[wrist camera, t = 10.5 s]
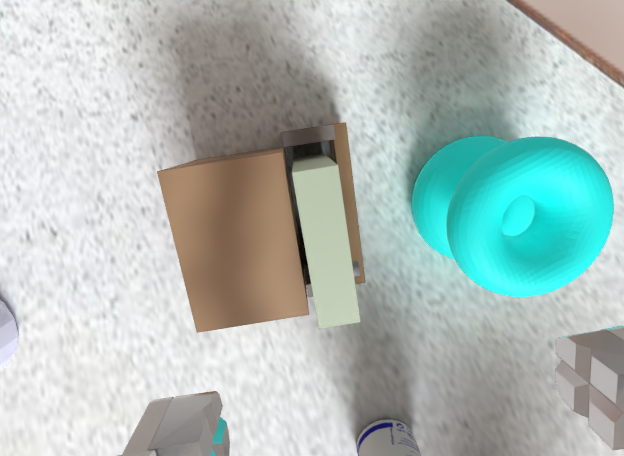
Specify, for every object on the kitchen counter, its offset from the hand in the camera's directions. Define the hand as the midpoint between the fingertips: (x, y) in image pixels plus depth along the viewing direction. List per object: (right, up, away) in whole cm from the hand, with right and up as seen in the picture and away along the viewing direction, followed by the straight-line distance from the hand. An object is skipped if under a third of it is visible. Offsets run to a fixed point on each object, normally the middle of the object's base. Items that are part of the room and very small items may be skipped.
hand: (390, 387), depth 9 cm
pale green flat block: (-1, +5, +22) cm, 23 cm away
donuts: (+11, +6, +23) cm, 26 cm away
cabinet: (-4, +5, +22) cm, 23 cm away
